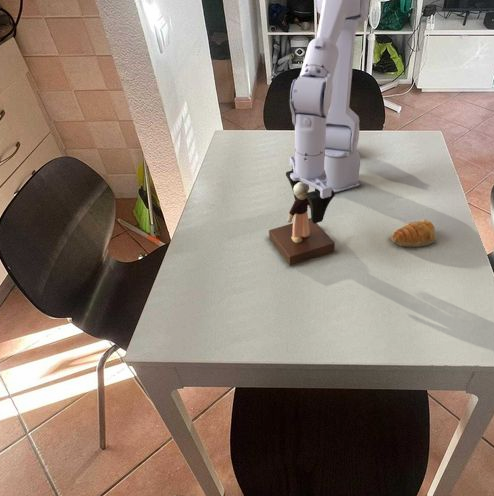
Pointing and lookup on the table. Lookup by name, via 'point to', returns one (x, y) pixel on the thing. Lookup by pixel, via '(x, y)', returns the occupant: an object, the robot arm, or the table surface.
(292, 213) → the grandmother figurine
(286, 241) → the walnut block
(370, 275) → the table surface
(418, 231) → the pastry
